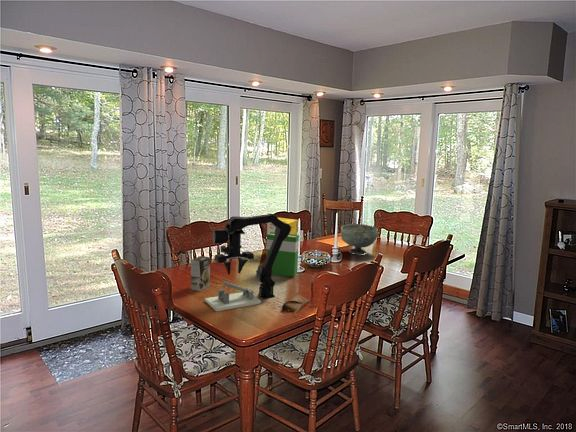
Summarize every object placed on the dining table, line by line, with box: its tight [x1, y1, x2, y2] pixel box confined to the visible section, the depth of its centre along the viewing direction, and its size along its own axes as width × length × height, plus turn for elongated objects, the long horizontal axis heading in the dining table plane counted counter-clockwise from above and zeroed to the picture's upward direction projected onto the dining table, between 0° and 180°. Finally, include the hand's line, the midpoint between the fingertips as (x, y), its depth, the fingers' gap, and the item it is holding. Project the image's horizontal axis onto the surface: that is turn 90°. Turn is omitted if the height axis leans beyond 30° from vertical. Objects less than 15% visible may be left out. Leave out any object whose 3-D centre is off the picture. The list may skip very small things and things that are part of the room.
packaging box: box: [266, 217, 299, 235], centre depth 292 cm, size 16×16×25 cm
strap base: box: [204, 287, 262, 312], centre depth 205 cm, size 23×14×6 cm, turn 122°
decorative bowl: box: [340, 223, 379, 254], centre depth 308 cm, size 26×26×20 cm
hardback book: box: [265, 232, 300, 278], centre depth 252 cm, size 18×7×24 cm, turn 75°
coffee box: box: [190, 255, 211, 292], centre depth 223 cm, size 9×6×16 cm
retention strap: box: [222, 280, 252, 293], centre depth 206 cm, size 15×5×1 cm, turn 123°
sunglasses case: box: [281, 292, 310, 312], centre depth 206 cm, size 18×7×7 cm, turn 158°
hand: (234, 273), depth 208 cm, fingers open, 5 cm apart
